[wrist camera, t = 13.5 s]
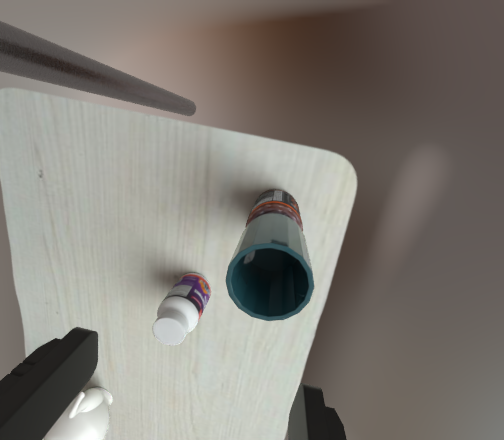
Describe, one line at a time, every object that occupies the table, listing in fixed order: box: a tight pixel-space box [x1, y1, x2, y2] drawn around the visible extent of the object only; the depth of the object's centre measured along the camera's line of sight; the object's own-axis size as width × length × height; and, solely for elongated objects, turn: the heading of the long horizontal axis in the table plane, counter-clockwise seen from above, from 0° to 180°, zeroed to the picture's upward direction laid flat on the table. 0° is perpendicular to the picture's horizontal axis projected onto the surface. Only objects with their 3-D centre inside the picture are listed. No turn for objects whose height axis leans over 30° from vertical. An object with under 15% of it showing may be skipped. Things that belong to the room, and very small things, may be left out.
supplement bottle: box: [246, 190, 303, 232], centre depth 29 cm, size 6×6×11 cm
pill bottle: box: [153, 273, 211, 345], centre depth 35 cm, size 5×5×10 cm
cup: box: [226, 213, 314, 321], centre depth 20 cm, size 6×6×7 cm
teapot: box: [44, 387, 113, 440], centre depth 45 cm, size 10×20×9 cm, turn 161°
